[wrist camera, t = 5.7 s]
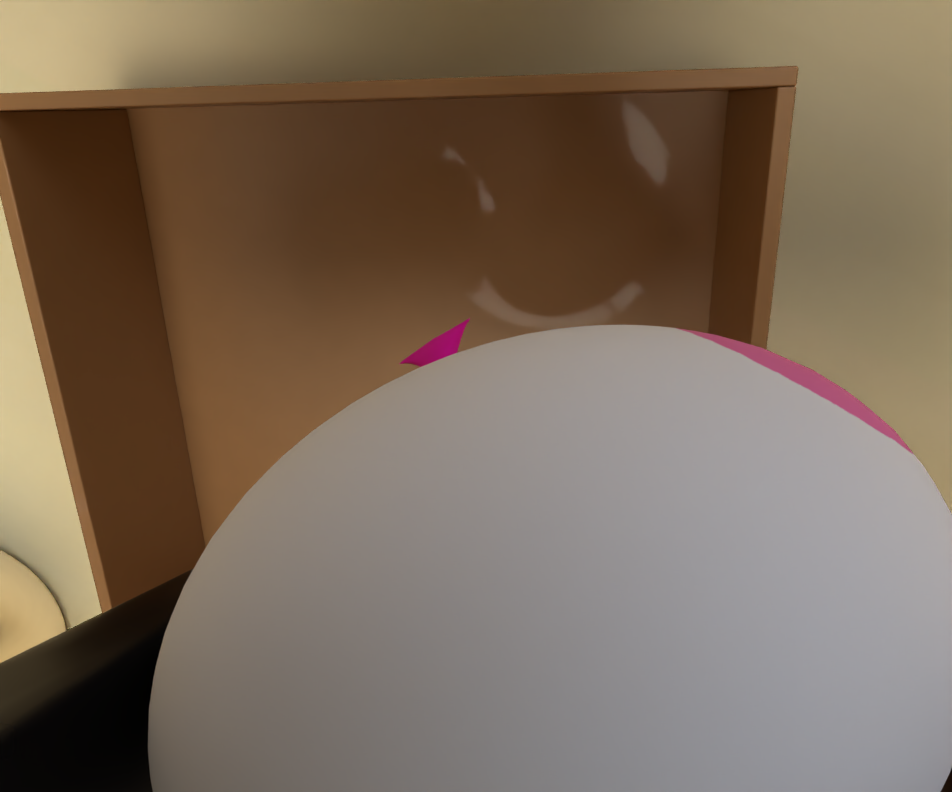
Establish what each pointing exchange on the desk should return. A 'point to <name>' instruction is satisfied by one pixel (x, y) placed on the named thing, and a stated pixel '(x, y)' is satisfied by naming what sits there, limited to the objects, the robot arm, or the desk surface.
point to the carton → (354, 256)
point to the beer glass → (25, 609)
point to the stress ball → (572, 586)
